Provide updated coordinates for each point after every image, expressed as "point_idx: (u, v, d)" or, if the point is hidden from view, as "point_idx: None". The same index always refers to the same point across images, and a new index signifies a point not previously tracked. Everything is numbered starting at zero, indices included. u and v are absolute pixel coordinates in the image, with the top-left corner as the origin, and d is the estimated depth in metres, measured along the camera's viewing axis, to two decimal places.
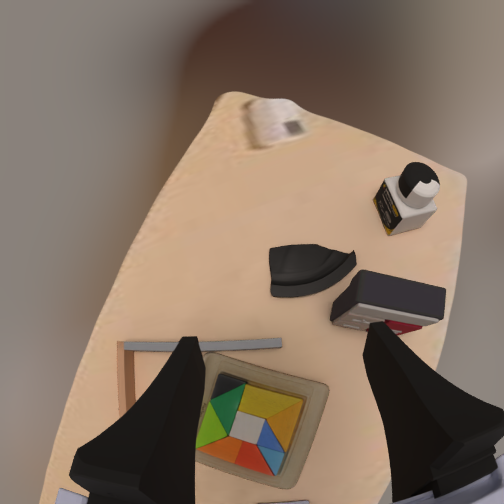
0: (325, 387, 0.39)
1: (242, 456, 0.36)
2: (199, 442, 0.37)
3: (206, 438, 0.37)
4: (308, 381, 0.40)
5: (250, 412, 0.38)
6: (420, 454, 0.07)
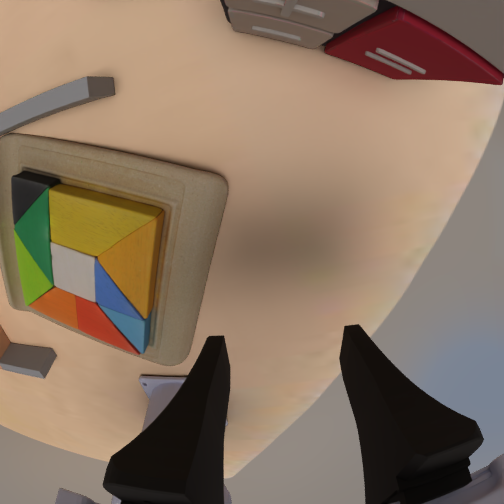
0: (214, 183, 0.18)
1: (84, 320, 0.22)
2: (27, 296, 0.21)
3: (31, 291, 0.21)
4: (171, 169, 0.17)
5: (69, 244, 0.19)
6: (388, 463, 0.07)
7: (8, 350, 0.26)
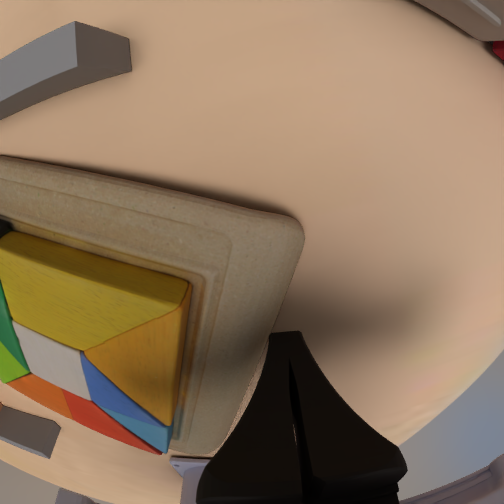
0: (287, 235, 0.10)
1: (79, 414, 0.14)
2: (1, 374, 0.13)
3: (5, 371, 0.13)
4: (204, 210, 0.09)
5: (37, 329, 0.10)
6: (305, 478, 0.07)
7: (1, 416, 0.18)
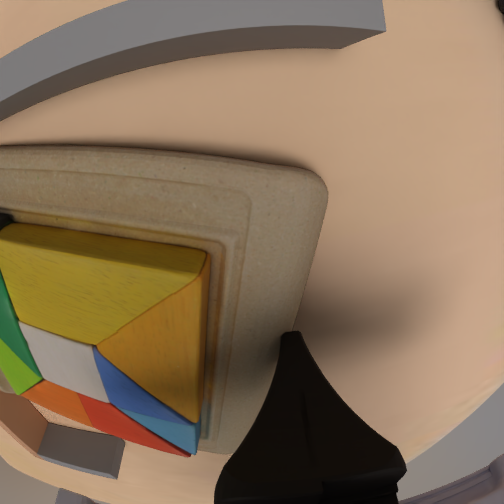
0: (310, 188, 0.09)
1: (99, 420, 0.13)
2: (14, 385, 0.13)
3: (17, 380, 0.13)
4: (218, 167, 0.08)
5: (45, 327, 0.10)
6: None
7: (48, 435, 0.18)
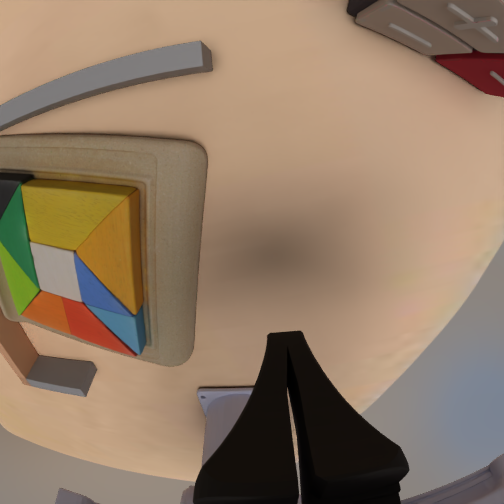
0: (188, 150, 0.15)
1: (74, 323, 0.20)
2: (18, 305, 0.20)
3: (21, 298, 0.19)
4: (140, 142, 0.15)
5: (46, 241, 0.17)
6: (307, 478, 0.07)
7: (37, 364, 0.25)
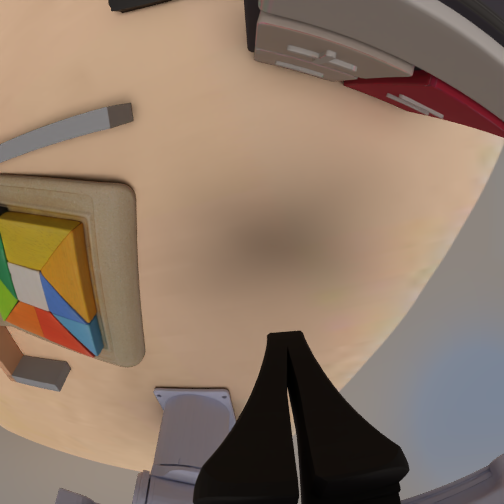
0: (115, 191, 0.18)
1: (46, 328, 0.23)
2: (2, 312, 0.23)
3: (4, 307, 0.22)
4: (80, 185, 0.17)
5: (19, 262, 0.19)
6: (307, 478, 0.07)
7: (21, 363, 0.27)
